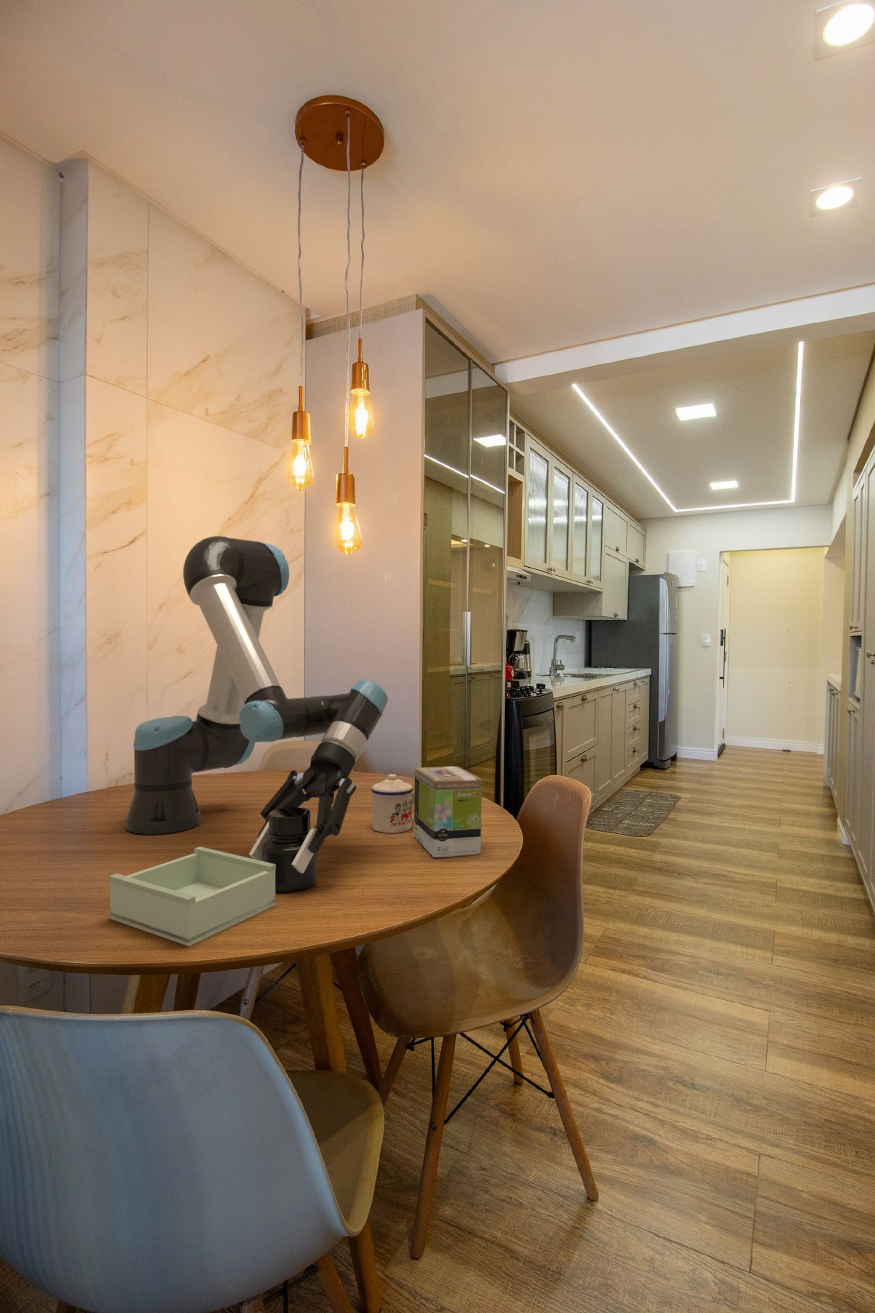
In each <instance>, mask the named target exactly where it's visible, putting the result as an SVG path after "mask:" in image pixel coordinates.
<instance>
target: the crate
mask: <svg viewBox="0 0 875 1313" xmlns="http://www.w3.org/2000/svg"><path fill="white" fill-rule="evenodd" d="M193 850H194V851H193V853H191V854H189V855H185V856H182V857H179V858H176V859H173V860H171V861H170V860H169V861H167V862H165V863H161V864H158V865H155V866H152V867H149V868H146V869H143V870H140V871H137V872H133V873H131V874H127V875H123V874H120V873H114V874H112V875H109V876H108V877H109V878H108V880H109V918H110V919H109V920H112V921H115V922H119V923H121V924H124V925H127V926H129V927H133V928H135V929H139V930H141V931H143V932H147V933H150V934H151V935H155V936H158V937H162V938H164V939H167V940H169V941H172V942H175V943H178V944H181V945H183V946H186V947H191V946H193V945H196V944H197V943H199V942H201V941H203V940H205V939H208V938H210V937H213V936H215V935H216V934H218V933H220V932H222V931H224V930H226V929H228V928H230V927H233V926H235V925H237V924H239V923H241V922H243V921H245V920H247V919H250V918H252V917H254V916H255V915H258V914H260V913H263V912H264V911H266V910H269V909H271V908H272V907H275V906H276V891H275V870H276V864H272V863H268V862H263V861H259V860H255V859H253V858H252V857H251V858H250V857H246V856H242V855H237V854H232V853H229V852H225V851H219V850H216V849H212V848H207V847H204V846H197V847H195V848H194V849H193Z"/></svg>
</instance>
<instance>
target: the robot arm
mask: <svg viewBox="0 0 875 1313" xmlns="http://www.w3.org/2000/svg"><path fill="white" fill-rule="evenodd" d="M182 568H183V569H182V571H183V572H182V573H183V574H182V576H183V578H182V579H183V584H184V587H185V590H186V593H187V595H188V596H189V600H190V601H191V602H192V604H194V605H197V606H199V608H200V611H201V613H202V615H203V617H204V619H205V622H206V624H207V626H208V628H209V630H210V632H211V635H212V636H213V639H214V640H215V643H216V645H217V646H216V651H215V657H214V662H213V667H212V672H211V678H210V682H209V688H208V693H207V698H206V703H205V704H203V705H201V706H200V707H199V708H198V709H197V712H196V713H197V714H196V718H195V719H196V720H194V721H193V719H192V718H191V717H190V716H188V715H187V716H186V715H173V716H163V717H159V718H153V719H150V720H147V721H145V722H142V723H140V724H138V726H137V727H136V729H135V731H134V741H133V745H132V746H133V750H134V752H133V753H134V755H133V757H134V759H133V760H134V766H133V767H134V794H133V797H132V799H131V802H130V805H129V809H128V812H127V815H126V817H125V830H126V829H127V830H128V831H127V830H126V831H127V832H129V831H130V832H129V833H132V832H134V833H133V834H136V833H141V834H140V835H162V834H163V835H165V834H172V833H179V832H183V831H187V830H189V829H192V828H194V827H197V826H198V825H199V824H201V810H200V808H199V806H198V803H197V802H198V801H197V798H196V796H195V793H194V790H193V774H194V773H195V774H196V773H200V772H206V771H214V770H219V769H228V768H231V767H234V766H239V765H241V764H243V763H245V762H246V761H247V760H248V759H249V758H250V757H251V755H252V753H253V751H254V748H255V745H256V743H267V742H268V743H272V742H276V741H280V740H287V739H292V738H302V737H308V736H309V737H310V736H317V735H323V736H322V738H321V741H320V743H319V744H318V745H317V747H316V749H315V751H314V752H313V754H312V756H311V758H310V764H309V765H310V766H309V767H308V768H307V769H306V770H305V771H304V772H297V771H296V770H295V769H294V770H293V769H292V770H291V771H290V772H289V774H288V776H287V779H286V780H285V781H284V783H283V784H282V786H281V787H280V788H279V789H278V790H277V792H276V793H275V794H274V795H273V796H272V798H271V799H270V800H269V802H267V804H266V805H265V806H264V808H263V809H261V811H260V816H261V817H262V818H263V819H264V820H265V822H264V824H263V825H262V827H261V829H260V830H259V832H258V834H257V837H256V838H257V840H256V841H255V844H254V845H253V846H252V848H251V849H250V852H249V853H248V855H249V856H250V857H251V859H255V860H259V861H262V849H263V845H264V844H265V843H266V842H267V841H268V840H269V838H271V837H270V835H269V812H271V811H273V810H276V809H281V808H291V807H295V808H300V806H301V805H303V803H305V802H309V801H310V800H311V799H312V798H318V807H317V818H316V824H314V825H313V827H314V828H310V831H309V833H308V835H307V837H306V839H305V840H304V842H303V844H302V846H301V848H300V850H299V851H298V853H297V855H296V857H295V859H294V861H293V862H292V865H293V866H294V867H295V868H296V869H297V870H298V871H299V872H300V873H304V871H305V869H306V867H307V866H308V864H309V862H310V860H311V858H312V856H313V854H314V853H315V854H316V853H318V852H319V851H320V848H321V846H322V845H323V843H324V841H325V839H326V838H328V837H329V836H331V835H333V836H334V837H336V836H339V835H340V832H341V829H342V826H343V823H344V819H345V817H346V814H347V810H348V807H349V803H350V800H351V797H352V795H353V794H354V793H355V791H356V790H357V786H356V784H355V783H354V782H353V780H352V779H351V778H350V777H349V776H350V774H351V773H352V770H353V769H354V767H355V765H356V761H358V759H359V758H360V755H361V753H362V752H363V750H364V748H365V746H366V745H367V742H368V741H369V738H370V736H371V735H372V733H373V732H374V730H375V728H376V726H377V724H378V722H379V721H380V719H381V718H382V716H383V714H384V711H385V708H386V706H387V704H388V700H389V699H388V694H387V692H386V691H385V690H384V689H383V687H382V686H381V685H379V684H378V683H376V682H375V681H372V680H368V679H359V680H358V681H356V682H355V683H354V685H353V686H352V687H350V690H349V692H348V693H340V694H332V695H331V694H330V695H317V696H308V697H294V698H288V697H287V696H286V694H285V692H284V689H283V688H282V686H281V684H280V681H279V680H278V678H277V675H276V674H275V672H274V669H273V668H272V665H271V663H270V661H269V658H268V657H267V655H266V652H265V651H264V648H263V646H262V644H261V642H260V640H259V639H260V634H261V628H262V624H263V623H262V622H263V618H264V614H265V612H266V611H268V610H270V609H271V608H272V607H273V603H274V598H275V597H278V596H281V595H282V594H284V591H286V589H287V588H288V585H289V581H290V567H289V563H288V561H287V559H286V556H285V554H284V553H283V551H282V550H281V549H280V548H279V547H277V546H275V545H274V544H269V543H265V542H263V541H257V540H249V539H240V538H234V537H233V538H232V537H227V536H221V535H219V536H218V535H217V536H216V535H215V536H209V537H206V538H203V539H202V540H200V541H199V542H196V544H194V545H193V546H192V548H190V550H189V552H188V553H187V555H186V558H185V560H184V563H183V567H182ZM303 790H304V791H303ZM336 791H337V792H336ZM335 793H336V796H335ZM164 833H165V834H164Z"/></svg>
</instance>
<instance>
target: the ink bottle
mask: <svg viewBox="0 0 875 1313" xmlns="http://www.w3.org/2000/svg"><path fill="white" fill-rule="evenodd" d="M310 829H311V810H310V809H308V808H306V807H305V808H304V807H298V808H295V807H291V808H281V809H276V810H273V811H271V812H269V835H270V837H271V838H269V840H268V841H267V842H266V843H265V844H264V845H263V849H262V861H263V862H268V863H272V864H276V870H275V893H276V892H277V893H278V892H279V893H286V892H287V893H289V892H297V891H301V890H304V889H307V888H310V887H312V886H314V885H315V884H316V882H317V879H318V877H317V875H318V874H317V872H318V871H317V869H318V868H317V866H318V863H317V862H318V860H317V858H318V854H317V853H318V852H317V853H316V854H315V853H314V854H313V856H312V858H311V860H310V862H309V864H308V866H307V867H306V869H305V871H304V873H300V872H299V871H298V870H297V869H296V868H295V867H294V866H293V865H292V862H293V861H294V859H295V857H296V855H297V853H298V851H299V850H300V848H301V846H302V844H303V842H304V840H305V839H306V837H307V835H308V833H309V831H310Z"/></svg>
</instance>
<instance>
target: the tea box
mask: <svg viewBox="0 0 875 1313" xmlns="http://www.w3.org/2000/svg"><path fill="white" fill-rule="evenodd" d="M482 784H483V780H482V778H480V777H479V776H477V775H475V774H473V773H471V772H470V771H467V770H466V769H463V768H462V767H459V766H457V765H456V766H434V767H431V766H430V767H429V766H428V767H427V766H426V767H415V768H414V796H415V797H414V806H413V810H414V812H413V836H414V838H415V839H416V840H417V841H418V842H419V843H420V844H421V846H423V848H425V850H426V851H427V852H428V853H429V854H430V856H432V858H449V857H450V858H451V857H462V856H474V855H480V854H481V848H482V847H481V846H482V834H481V833H482V808H483V806H482V795H483V785H482Z"/></svg>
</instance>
